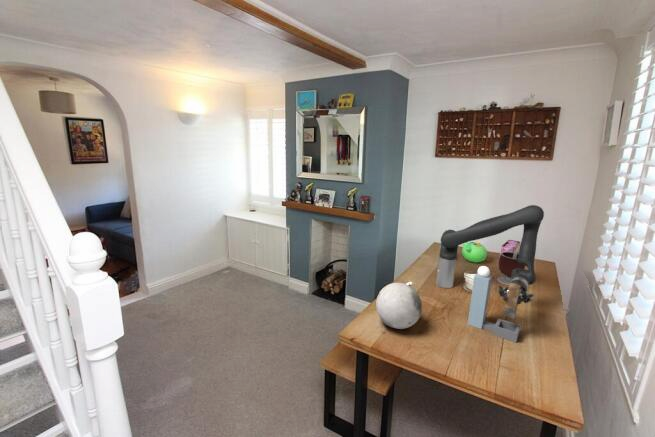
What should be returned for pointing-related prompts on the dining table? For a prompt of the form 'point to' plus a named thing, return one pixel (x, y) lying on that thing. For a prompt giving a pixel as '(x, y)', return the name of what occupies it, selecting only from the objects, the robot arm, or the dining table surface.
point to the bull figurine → (410, 284)
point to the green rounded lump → (474, 251)
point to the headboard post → (480, 308)
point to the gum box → (510, 246)
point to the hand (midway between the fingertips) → (511, 300)
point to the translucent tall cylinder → (512, 300)
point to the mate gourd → (508, 265)
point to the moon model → (398, 305)
